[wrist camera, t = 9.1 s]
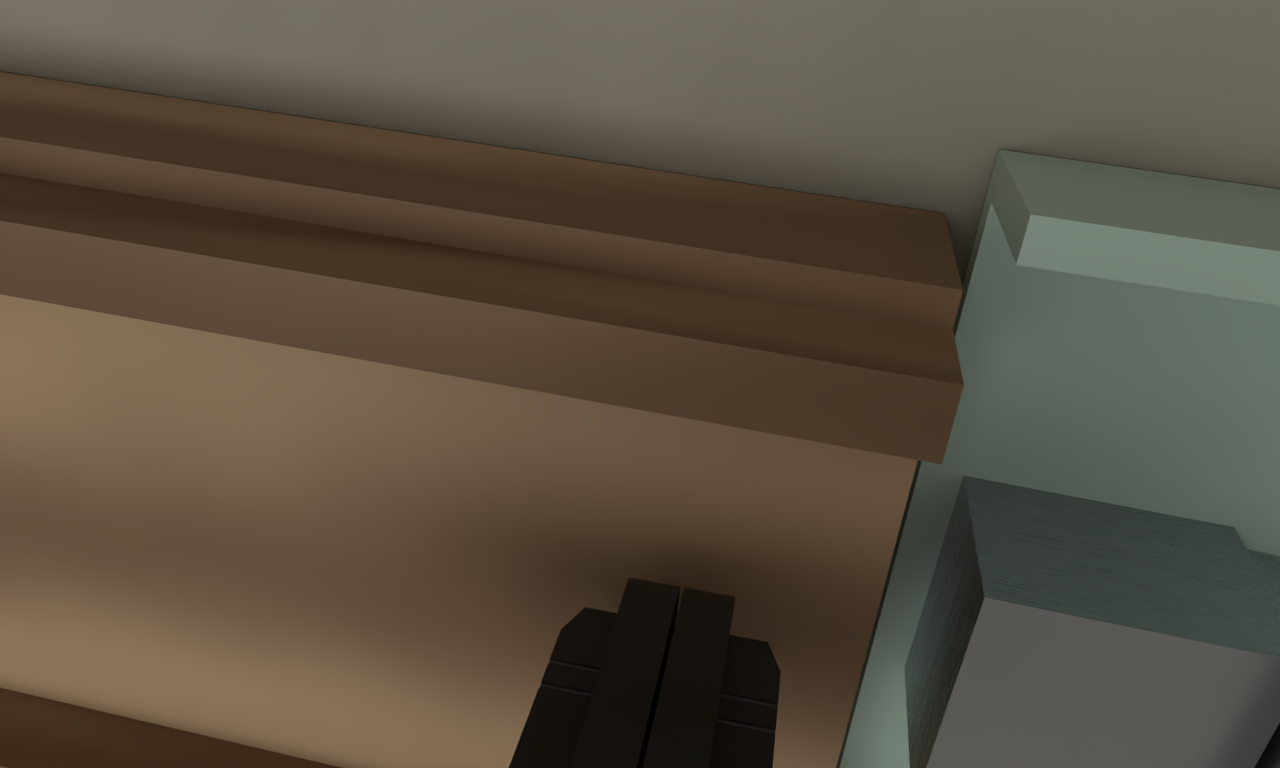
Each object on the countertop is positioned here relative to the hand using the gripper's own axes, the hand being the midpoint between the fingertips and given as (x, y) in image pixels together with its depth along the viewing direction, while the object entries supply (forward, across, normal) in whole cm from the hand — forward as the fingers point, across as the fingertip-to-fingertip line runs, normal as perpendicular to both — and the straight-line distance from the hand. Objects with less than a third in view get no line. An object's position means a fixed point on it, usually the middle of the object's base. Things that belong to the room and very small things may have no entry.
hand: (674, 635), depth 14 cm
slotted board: (+4, +7, +1) cm, 8 cm away
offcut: (+3, -6, +1) cm, 7 cm away
